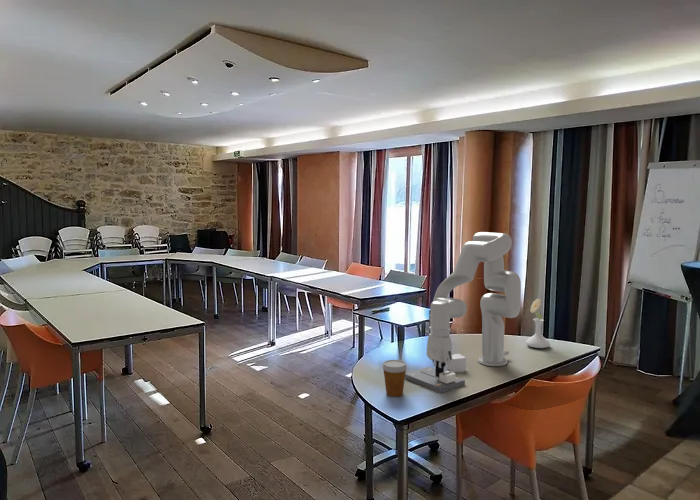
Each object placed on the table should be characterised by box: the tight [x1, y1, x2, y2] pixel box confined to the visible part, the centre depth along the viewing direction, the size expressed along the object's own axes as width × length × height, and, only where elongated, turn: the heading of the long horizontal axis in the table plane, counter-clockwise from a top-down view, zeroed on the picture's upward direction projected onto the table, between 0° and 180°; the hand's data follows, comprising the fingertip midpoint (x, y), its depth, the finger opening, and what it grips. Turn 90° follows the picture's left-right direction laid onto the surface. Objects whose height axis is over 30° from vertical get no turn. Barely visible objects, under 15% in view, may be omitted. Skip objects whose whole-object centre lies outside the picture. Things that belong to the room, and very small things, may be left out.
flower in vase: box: [525, 298, 551, 349], centre depth 249 cm, size 13×11×25 cm
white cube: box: [446, 353, 467, 373], centre depth 219 cm, size 6×6×6 cm
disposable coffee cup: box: [381, 359, 408, 398], centre depth 193 cm, size 10×10×12 cm
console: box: [405, 366, 466, 394], centre depth 206 cm, size 14×20×2 cm
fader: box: [439, 370, 457, 384], centre depth 200 cm, size 5×4×3 cm
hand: (439, 376), depth 203 cm, fingers closed
